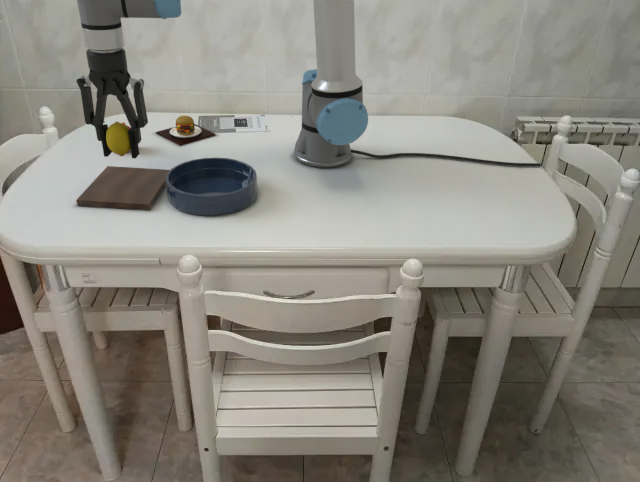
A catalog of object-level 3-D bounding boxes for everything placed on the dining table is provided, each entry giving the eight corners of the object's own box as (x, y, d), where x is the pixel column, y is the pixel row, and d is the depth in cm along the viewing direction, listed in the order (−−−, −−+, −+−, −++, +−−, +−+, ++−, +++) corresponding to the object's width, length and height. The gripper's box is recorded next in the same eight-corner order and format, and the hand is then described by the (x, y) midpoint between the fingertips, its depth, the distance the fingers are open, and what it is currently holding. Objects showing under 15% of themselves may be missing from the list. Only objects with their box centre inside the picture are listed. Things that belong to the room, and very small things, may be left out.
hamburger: (191, 124, 167) (189, 106, 164) (215, 135, 160) (214, 117, 157) (156, 133, 160) (153, 115, 157) (180, 145, 153) (178, 126, 150)
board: (172, 175, 137) (172, 169, 136) (149, 210, 122) (148, 204, 121) (108, 171, 137) (107, 165, 137) (77, 206, 122) (76, 199, 121)
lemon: (127, 162, 122) (122, 127, 118) (104, 159, 123) (98, 124, 119) (139, 152, 127) (134, 119, 123) (116, 150, 128) (111, 116, 124)
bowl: (262, 178, 137) (262, 160, 135) (249, 219, 120) (248, 198, 118) (181, 174, 138) (179, 155, 135) (156, 213, 121) (153, 192, 118)
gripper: (156, 46, 116) (167, 151, 128) (68, 41, 116) (88, 146, 128) (144, 55, 109) (157, 164, 122) (51, 50, 110) (73, 159, 122)
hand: (122, 154), depth 125 cm, fingers closed on lemon, 6 cm apart
